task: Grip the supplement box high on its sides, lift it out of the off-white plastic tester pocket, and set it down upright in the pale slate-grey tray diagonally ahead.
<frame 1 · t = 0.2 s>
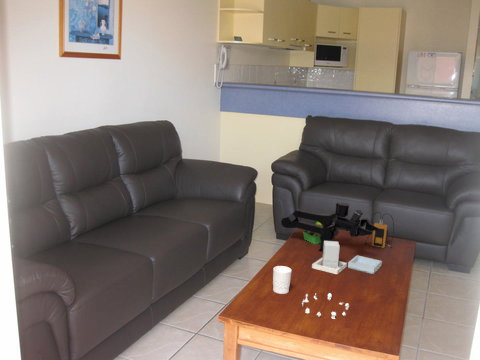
hand: (375, 231, 269), 16 cm above the table, tool horizontal, fingers open, 9 cm apart
fruit basket: (313, 241, 301), on the table
white cup: (280, 291, 230), on the table
supplement box: (329, 267, 261), resting in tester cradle
multimeter: (379, 245, 301), on the table
tray: (364, 267, 264), on the table
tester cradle: (329, 267, 261), on the table
game piece set: (324, 309, 215), on the table
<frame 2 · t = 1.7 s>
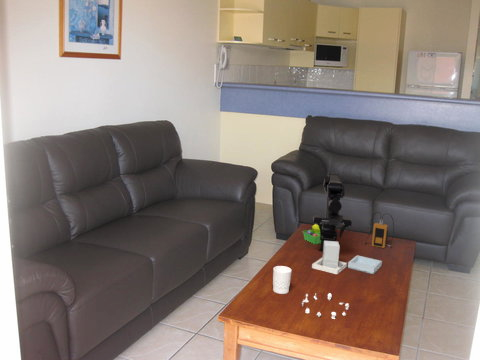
hand: (330, 236, 267), 13 cm above the table, tool pointing down, fingers open, 9 cm apart
nothing on the table moved.
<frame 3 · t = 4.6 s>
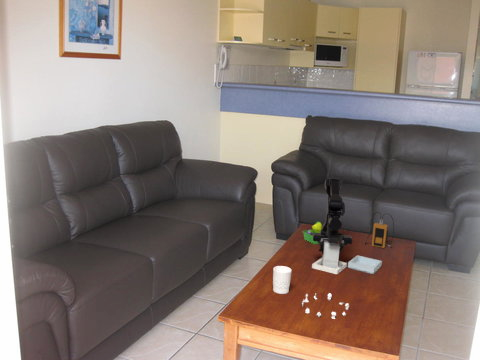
hand: (330, 254, 260), 7 cm above the table, tool pointing down, fingers closed on supplement box, 7 cm apart
supplement box: (329, 267, 261), resting in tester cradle, touching gripper
everything else where it was.
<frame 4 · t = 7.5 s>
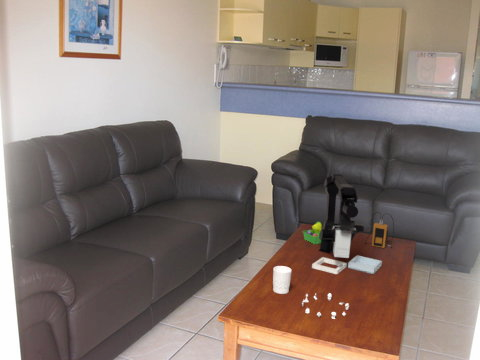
hand: (342, 242, 260), 13 cm above the table, tool pointing down, fingers closed on supplement box, 7 cm apart
supplement box: (340, 255, 261), point 6 cm above the table, touching gripper
everything else where it was.
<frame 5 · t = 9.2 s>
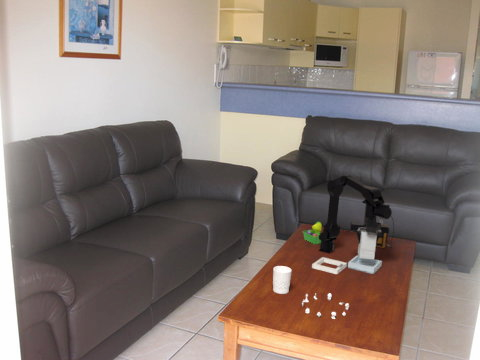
hand: (367, 244, 262), 12 cm above the table, tool pointing down, fingers closed on supplement box, 7 cm apart
supplement box: (365, 256, 263), point 5 cm above the table, touching gripper
everything else where it was.
when the fingers open (8 cm above the table, at t = 10.8 s): supplement box stays where it is, resting on tray.
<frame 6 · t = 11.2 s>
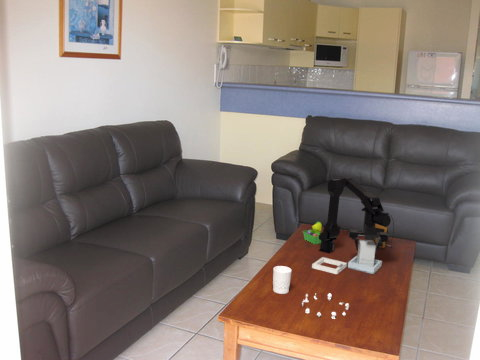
hand: (366, 251, 263), 8 cm above the table, tool pointing down, fingers open, 9 cm apart
supplement box: (364, 266, 264), resting on tray
everything else where it was.
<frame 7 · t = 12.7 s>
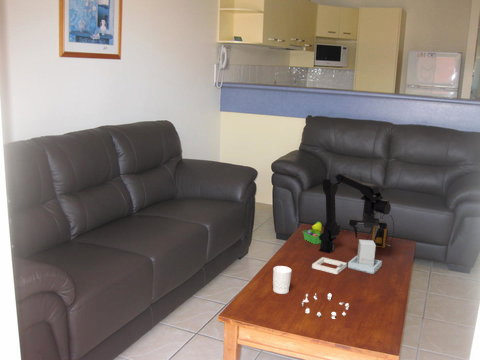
hand: (365, 239, 267), 13 cm above the table, tool pointing down, fingers open, 9 cm apart
nothing on the table moved.
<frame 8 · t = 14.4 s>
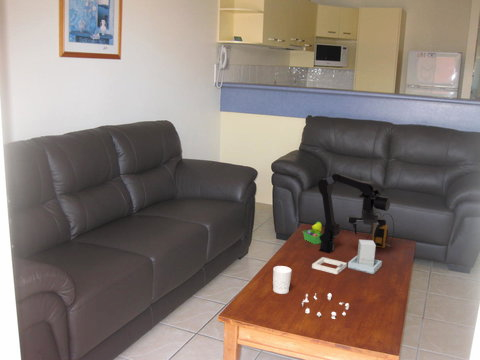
hand: (364, 236, 271), 13 cm above the table, tool pointing down, fingers open, 9 cm apart
nothing on the table moved.
at the end: supplement box inside the target area on the tray (0.1 cm from its centre), point 0.4 cm above the tray's base; supplement box tilted 0°; the gripper is holding nothing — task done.
